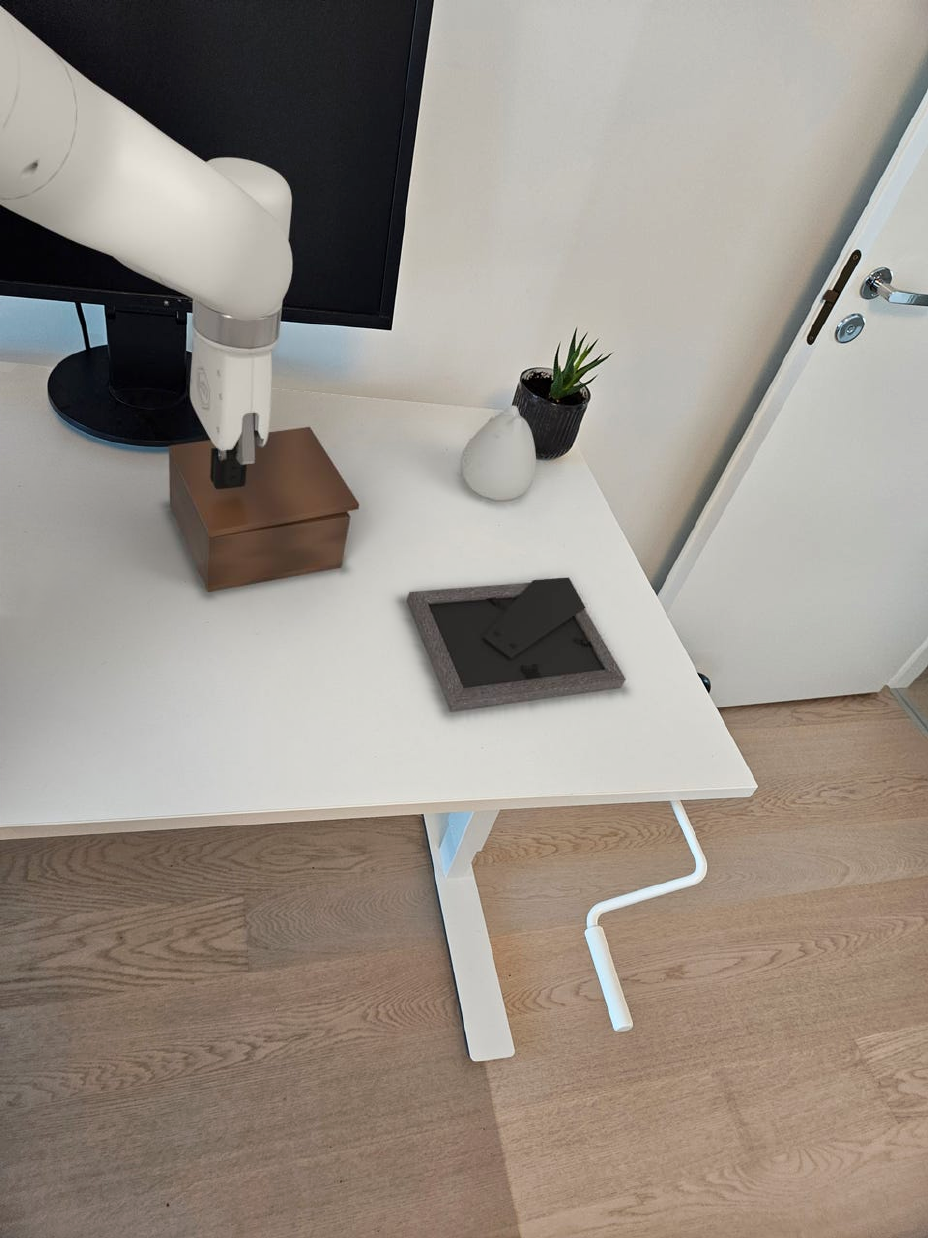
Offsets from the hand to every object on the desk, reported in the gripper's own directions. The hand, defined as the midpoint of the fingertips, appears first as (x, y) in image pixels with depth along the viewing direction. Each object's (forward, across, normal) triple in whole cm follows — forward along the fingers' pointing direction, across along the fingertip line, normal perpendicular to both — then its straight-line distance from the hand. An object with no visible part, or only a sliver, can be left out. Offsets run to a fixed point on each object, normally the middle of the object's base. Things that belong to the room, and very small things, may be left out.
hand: (227, 482), depth 84 cm
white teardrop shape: (+10, -5, +40) cm, 41 cm away
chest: (+10, -2, +4) cm, 11 cm away
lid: (+2, -2, +5) cm, 6 cm away
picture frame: (+10, +22, +26) cm, 36 cm away
